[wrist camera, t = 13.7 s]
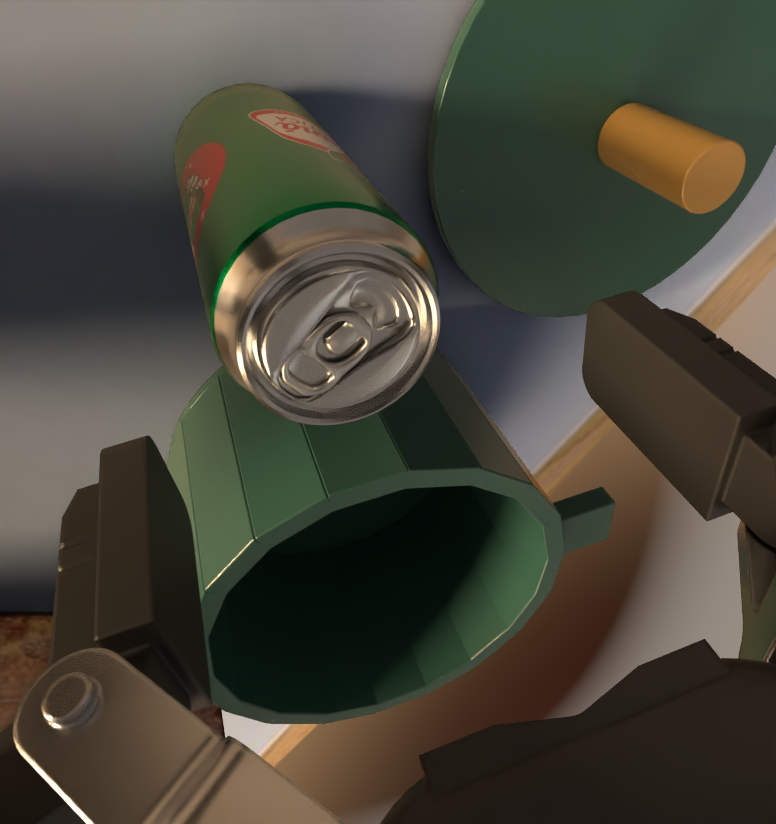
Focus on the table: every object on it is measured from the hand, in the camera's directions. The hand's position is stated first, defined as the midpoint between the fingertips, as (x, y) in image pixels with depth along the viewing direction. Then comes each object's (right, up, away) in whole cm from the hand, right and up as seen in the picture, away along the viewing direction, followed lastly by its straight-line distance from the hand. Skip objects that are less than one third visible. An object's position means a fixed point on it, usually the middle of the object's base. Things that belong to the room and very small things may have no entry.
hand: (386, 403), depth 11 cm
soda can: (-5, +9, +11) cm, 14 cm away
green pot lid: (+9, +11, +14) cm, 19 cm away
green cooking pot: (-3, -2, +20) cm, 20 cm away
